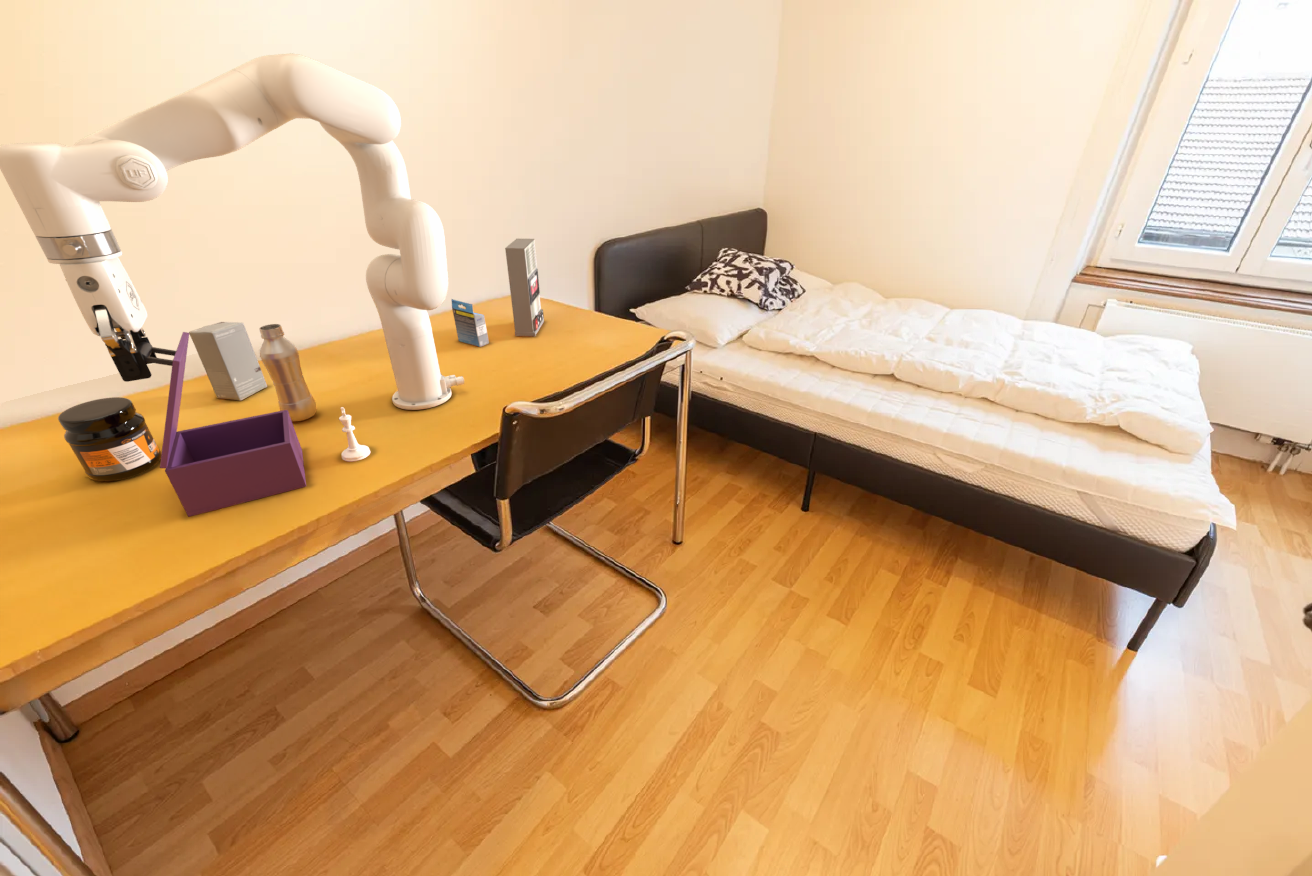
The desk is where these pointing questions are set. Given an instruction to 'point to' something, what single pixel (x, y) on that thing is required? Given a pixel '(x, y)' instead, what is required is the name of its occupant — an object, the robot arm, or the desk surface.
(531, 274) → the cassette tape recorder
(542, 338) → the desk surface
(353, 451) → the chess piece
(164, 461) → the lid
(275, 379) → the plastic bottle
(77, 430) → the supplement container
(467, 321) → the label tape box
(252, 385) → the cosmetic box
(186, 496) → the box
